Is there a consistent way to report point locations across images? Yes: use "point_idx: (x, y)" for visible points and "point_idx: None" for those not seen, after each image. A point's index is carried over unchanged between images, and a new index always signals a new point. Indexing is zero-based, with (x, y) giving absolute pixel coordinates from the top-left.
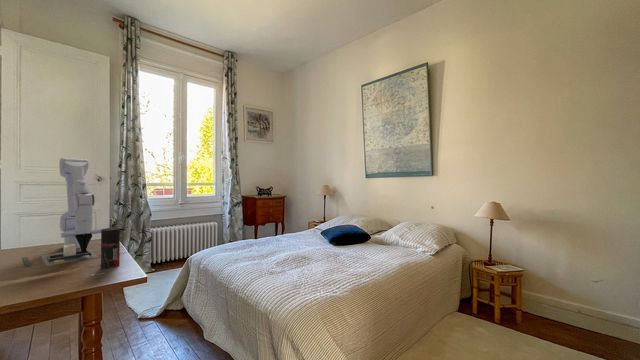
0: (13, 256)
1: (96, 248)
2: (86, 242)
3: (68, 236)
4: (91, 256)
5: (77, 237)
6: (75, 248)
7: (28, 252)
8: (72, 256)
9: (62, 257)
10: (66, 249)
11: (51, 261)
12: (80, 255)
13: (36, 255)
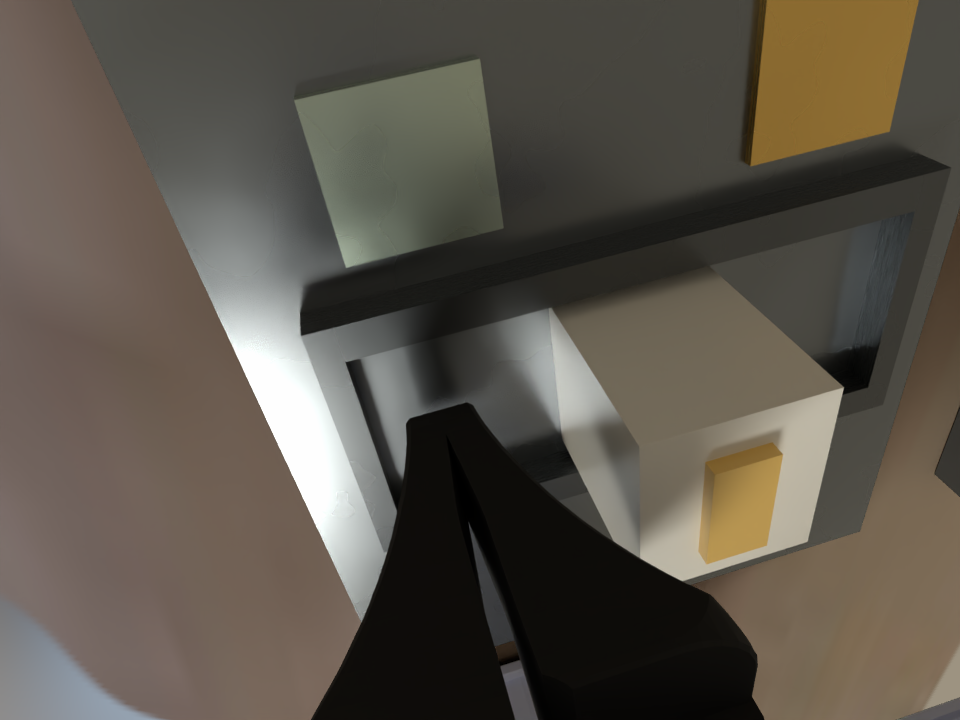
0: (939, 618)
1: (301, 715)
2: (437, 562)
3: (950, 713)
4: (264, 121)
5: (739, 668)
6: (623, 400)
7: (830, 693)
8: (614, 243)
9: (769, 210)
10: (783, 360)
11: (905, 117)
12: (485, 274)
13: (823, 604)
